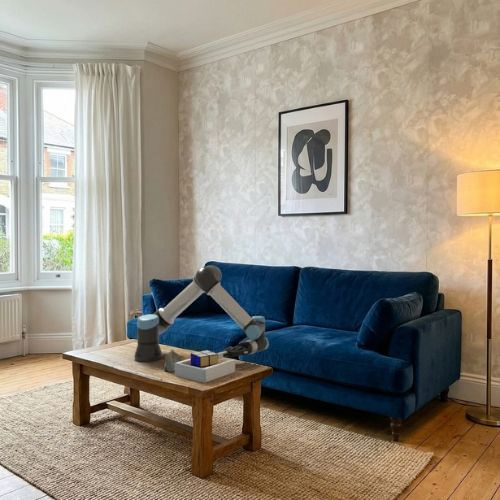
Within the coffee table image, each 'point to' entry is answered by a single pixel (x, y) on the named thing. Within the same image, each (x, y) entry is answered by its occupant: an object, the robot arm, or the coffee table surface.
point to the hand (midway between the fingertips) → (217, 356)
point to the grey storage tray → (203, 370)
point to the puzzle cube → (204, 359)
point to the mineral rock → (171, 361)
